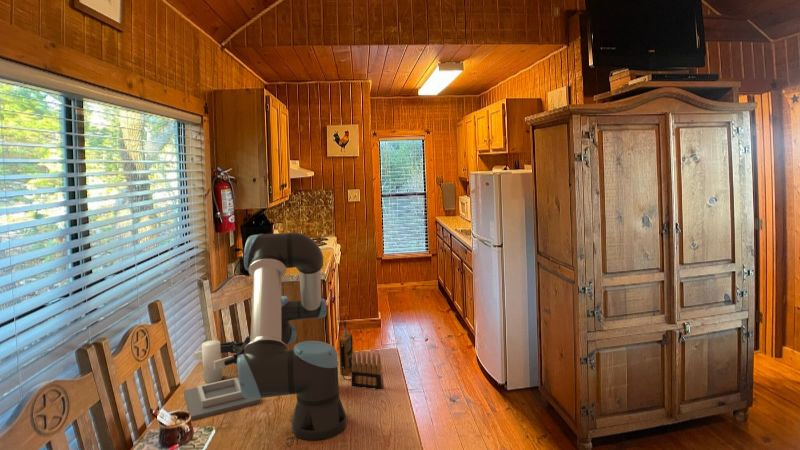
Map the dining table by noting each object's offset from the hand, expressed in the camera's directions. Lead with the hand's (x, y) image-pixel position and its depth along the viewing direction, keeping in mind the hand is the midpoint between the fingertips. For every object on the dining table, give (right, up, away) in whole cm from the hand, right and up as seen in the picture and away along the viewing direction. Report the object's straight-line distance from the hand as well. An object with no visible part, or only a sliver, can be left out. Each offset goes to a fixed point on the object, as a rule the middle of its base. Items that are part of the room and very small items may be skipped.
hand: (204, 360), depth 162 cm
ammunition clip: (+57, -7, -7) cm, 57 cm away
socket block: (+10, -8, -12) cm, 18 cm away
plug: (+2, -7, +3) cm, 8 cm away
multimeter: (+52, -6, +5) cm, 53 cm away
